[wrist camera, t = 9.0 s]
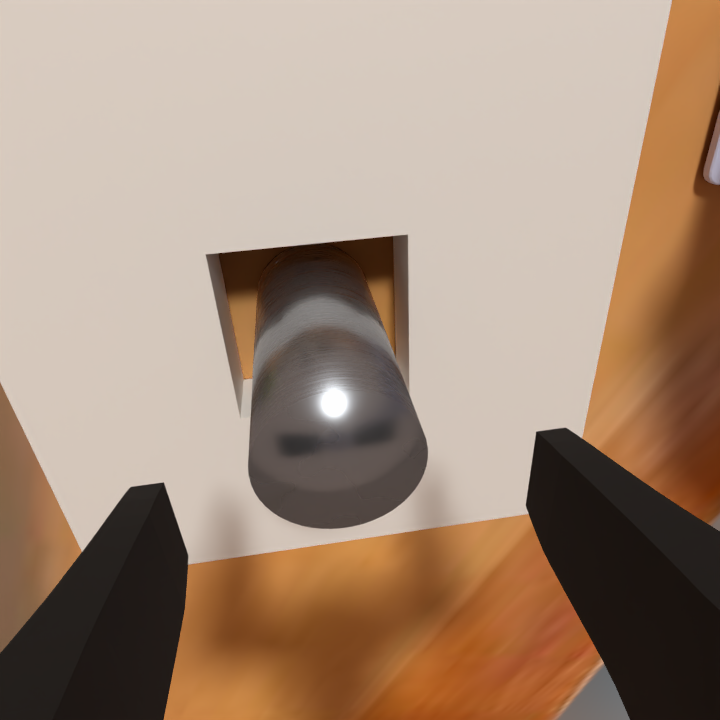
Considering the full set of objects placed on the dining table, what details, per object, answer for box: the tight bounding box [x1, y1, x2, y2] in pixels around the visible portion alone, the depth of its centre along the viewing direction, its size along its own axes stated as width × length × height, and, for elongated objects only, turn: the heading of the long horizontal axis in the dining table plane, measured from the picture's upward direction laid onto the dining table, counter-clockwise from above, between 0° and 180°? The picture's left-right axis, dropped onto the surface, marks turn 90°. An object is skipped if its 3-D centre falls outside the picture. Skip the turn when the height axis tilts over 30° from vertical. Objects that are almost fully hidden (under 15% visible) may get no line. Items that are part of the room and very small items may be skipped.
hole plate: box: [0, 0, 672, 564], centre depth 19 cm, size 20×20×2 cm
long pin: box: [248, 243, 428, 529], centre depth 16 cm, size 4×4×9 cm
